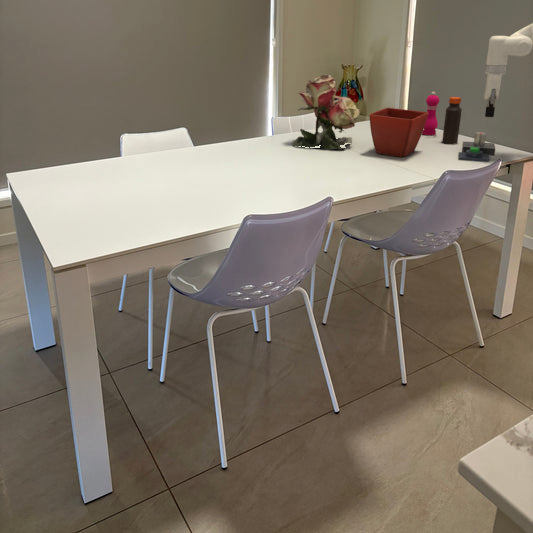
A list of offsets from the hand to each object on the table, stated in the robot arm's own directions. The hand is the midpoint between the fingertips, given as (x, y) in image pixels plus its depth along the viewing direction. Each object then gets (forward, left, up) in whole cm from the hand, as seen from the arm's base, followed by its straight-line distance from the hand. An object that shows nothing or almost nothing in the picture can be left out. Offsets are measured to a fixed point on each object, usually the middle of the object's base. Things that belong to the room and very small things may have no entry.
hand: (489, 116), depth 239 cm
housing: (+4, +3, -17) cm, 18 cm away
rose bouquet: (+68, -7, -17) cm, 70 cm away
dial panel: (+2, -9, -17) cm, 19 cm away
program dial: (+2, -9, -14) cm, 16 cm away
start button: (+4, +3, -14) cm, 15 cm away
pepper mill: (+24, -38, -17) cm, 48 cm away
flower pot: (+36, +2, -17) cm, 40 cm away
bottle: (+14, -23, -17) cm, 31 cm away
